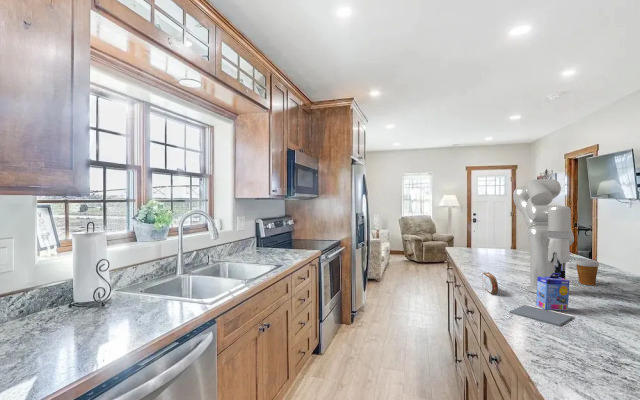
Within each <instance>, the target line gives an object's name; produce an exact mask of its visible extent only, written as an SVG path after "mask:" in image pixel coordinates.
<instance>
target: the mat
mask: <svg viewBox="0 0 640 400" xmlns="http://www.w3.org/2000/svg"><path fill="white" fill-rule="evenodd" d="M509 313H510V314H513V315H515V316H521V317H523V318H528V319H532V320H535V321H539V322H543V323H547V324H549V325H554V326H557V327H561V326H562V325H564V324H566V323H567V322H570V320H573V318H574V315H573V314H568V313H563V312H559V311H557V310H545V309H543V308H541V307H539V306H534V305H530V304H523V305H521V306H519V307H517V308H514V309H512V310H510V311H509Z"/></svg>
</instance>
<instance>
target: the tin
mask: <svg viewBox="0 0 640 400" xmlns="http://www.w3.org/2000/svg"><path fill="white" fill-rule="evenodd" d="M481 278H482V286H483V288H484V290H485V291H487V292H488V293H489V294H491V295H497V294H498V292H499V285H498V280H497V278H496V276H494V275H493V274H492V273H491V272H490V271H489V272H483V273H482V274H481Z"/></svg>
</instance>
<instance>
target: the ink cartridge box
mask: <svg viewBox="0 0 640 400" xmlns="http://www.w3.org/2000/svg"><path fill="white" fill-rule="evenodd" d="M555 274H557V275H558V276H552V275H555ZM560 274H561V273H552V274H551V276H550V277H547V276H538V277H537V293H536V299H535V300H536V301H535V302H536V303H535V305H536V306H535V307H539V308H543V309H545V310H552V311H568V310H569V299H570V298H569V295H570V294H569V293H570V280H569V279H567V278H565V279H563V278H559V276H560Z"/></svg>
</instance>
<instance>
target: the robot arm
mask: <svg viewBox="0 0 640 400" xmlns="http://www.w3.org/2000/svg"><path fill="white" fill-rule="evenodd" d="M561 190H562V186H561V183H560V182H559V181H558V180H556V179H552V178H550V179H548V178H546V179H532V180H529V181H528V182H526V183H525V185H524V186H520V187H517V188H515V189H514V191H513V193H512V199H513V202H514V205H515V207H516V209H518V211H519V212H520V213H521V215H522V217H523V219H524V222H525V225H526V226H527V228H528V231H527V238H528V243H529V256H530V257H529V259H530V260H529V264H530V265H529V266H530V270H529V271H530V272H529V273H530V276H529V277H530V280H529V281H530V285H528V286H526V290H527V292H529V293H530V292H531V293H534V294H537V277H538V276H547V277H550V276H551V274H552V273H561V274H560V276H559V278H563V279H566V266H567V265H566V264H567V263H568V262H570V257H571V256H570V253H571V252H570V246H572V244H573V243H574V242H575V237H574V233H573V229H572V215H571V213H572V211H571V208H570V207H569V206H567V205H550V204H551V203H552V201H554V199H555V198H557V197H558V196H559V195H560V193H561ZM552 276H558V275H557V274H555V275H552Z"/></svg>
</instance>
